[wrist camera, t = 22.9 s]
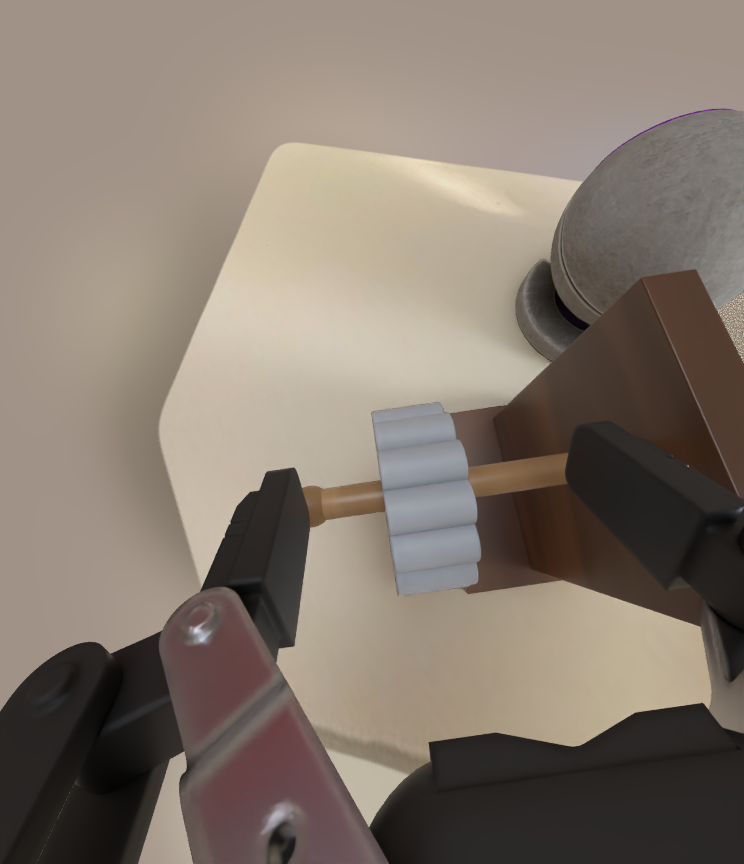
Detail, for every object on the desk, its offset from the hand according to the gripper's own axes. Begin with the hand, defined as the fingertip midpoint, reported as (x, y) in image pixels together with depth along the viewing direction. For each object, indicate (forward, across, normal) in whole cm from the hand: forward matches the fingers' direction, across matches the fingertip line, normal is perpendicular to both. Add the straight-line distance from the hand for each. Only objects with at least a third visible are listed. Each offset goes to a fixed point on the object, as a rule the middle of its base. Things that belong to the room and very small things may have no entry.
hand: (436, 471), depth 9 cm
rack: (+13, +4, -13) cm, 19 cm away
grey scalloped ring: (+6, 0, -7) cm, 9 cm away
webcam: (+24, +20, -2) cm, 31 cm away
